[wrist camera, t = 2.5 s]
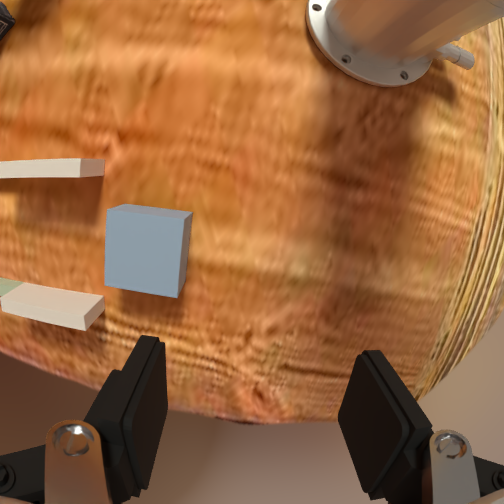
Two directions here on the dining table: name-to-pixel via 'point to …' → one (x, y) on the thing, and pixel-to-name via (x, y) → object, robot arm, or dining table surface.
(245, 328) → the dining table surface
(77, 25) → the dining table surface
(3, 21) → the small box
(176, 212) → the block
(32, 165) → the two-pronged grey tray
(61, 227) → the dining table surface
